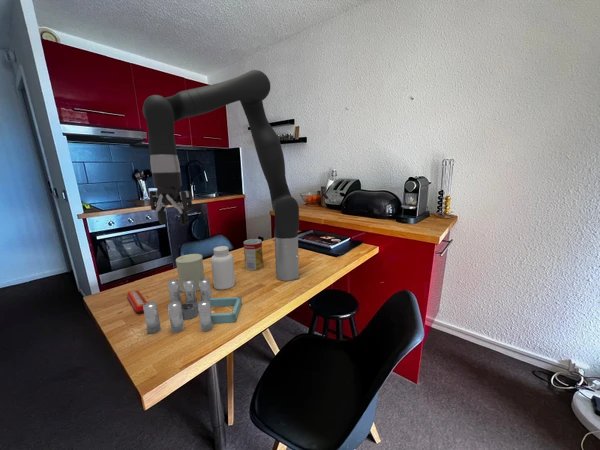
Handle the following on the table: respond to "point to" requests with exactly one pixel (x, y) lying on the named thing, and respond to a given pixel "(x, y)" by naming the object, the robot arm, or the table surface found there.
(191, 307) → the nut
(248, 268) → the canned food
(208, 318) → the spacers
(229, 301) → the corral
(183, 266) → the can
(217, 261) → the pill bottle
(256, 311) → the table surface
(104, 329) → the table surface
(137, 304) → the candy bar
